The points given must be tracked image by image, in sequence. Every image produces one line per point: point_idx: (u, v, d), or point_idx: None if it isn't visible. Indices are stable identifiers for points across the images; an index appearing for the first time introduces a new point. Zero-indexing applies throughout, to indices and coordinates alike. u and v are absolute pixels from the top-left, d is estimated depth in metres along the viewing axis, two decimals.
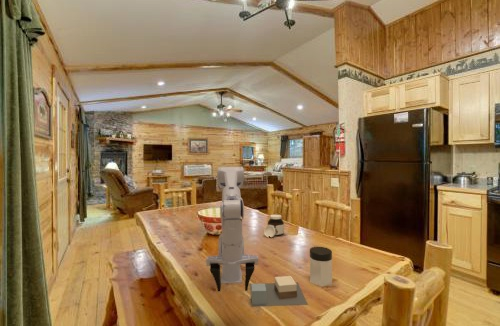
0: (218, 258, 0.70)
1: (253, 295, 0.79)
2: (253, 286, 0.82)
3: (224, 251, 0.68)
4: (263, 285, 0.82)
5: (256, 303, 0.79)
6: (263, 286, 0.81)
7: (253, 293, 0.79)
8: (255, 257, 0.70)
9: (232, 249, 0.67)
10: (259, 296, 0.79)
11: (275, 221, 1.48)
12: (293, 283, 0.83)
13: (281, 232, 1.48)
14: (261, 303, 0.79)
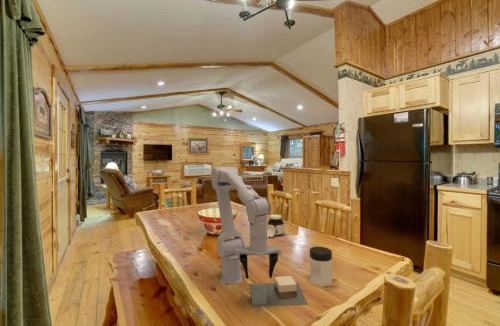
0: (246, 250, 0.81)
1: (253, 295, 0.79)
2: (253, 286, 0.82)
3: (252, 243, 0.79)
4: (263, 285, 0.82)
5: (256, 303, 0.79)
6: (263, 286, 0.81)
7: (253, 293, 0.79)
8: (278, 249, 0.81)
9: (259, 241, 0.78)
10: (259, 296, 0.79)
11: (275, 221, 1.48)
12: (293, 283, 0.83)
13: (281, 232, 1.48)
14: (261, 303, 0.79)
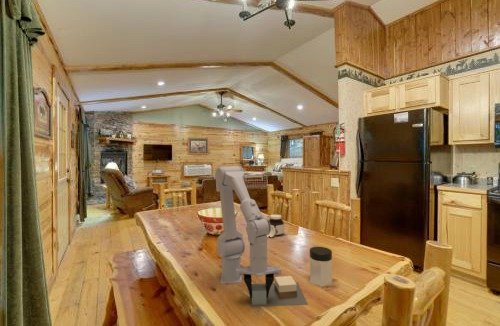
0: (246, 269, 0.81)
1: (253, 295, 0.79)
2: (253, 286, 0.82)
3: (252, 264, 0.79)
4: (263, 285, 0.82)
5: (256, 303, 0.79)
6: (263, 286, 0.81)
7: (253, 293, 0.79)
8: (278, 268, 0.81)
9: (259, 262, 0.78)
10: (259, 296, 0.79)
11: (275, 221, 1.48)
12: (293, 283, 0.83)
13: (281, 232, 1.48)
14: (261, 303, 0.79)
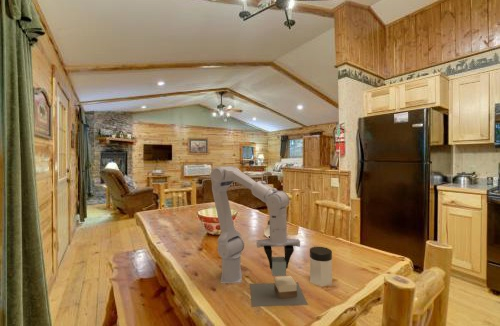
0: (266, 241, 0.84)
1: (273, 266, 0.82)
2: (273, 258, 0.84)
3: (272, 235, 0.82)
4: (282, 258, 0.85)
5: (276, 274, 0.82)
6: (282, 259, 0.84)
7: (273, 264, 0.82)
8: (297, 240, 0.84)
9: (279, 233, 0.81)
10: (279, 267, 0.82)
11: None
12: (293, 283, 0.83)
13: None
14: (281, 274, 0.82)
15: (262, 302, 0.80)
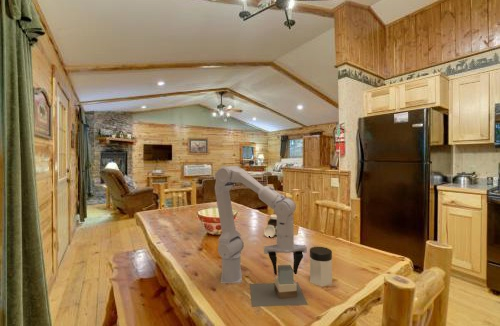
0: (273, 247, 0.85)
1: (281, 275, 0.83)
2: (280, 267, 0.86)
3: (279, 241, 0.83)
4: (289, 266, 0.86)
5: (284, 282, 0.83)
6: (289, 267, 0.86)
7: (281, 273, 0.83)
8: (304, 246, 0.85)
9: (287, 239, 0.82)
10: (286, 276, 0.83)
11: (275, 221, 1.48)
12: (293, 283, 0.83)
13: None
14: (288, 282, 0.83)
15: (262, 302, 0.80)
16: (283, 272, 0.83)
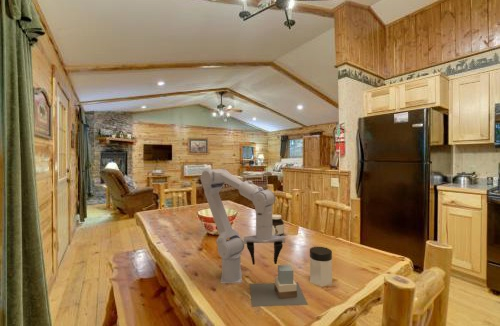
0: (253, 238, 0.87)
1: (281, 275, 0.83)
2: (280, 267, 0.86)
3: (258, 232, 0.85)
4: (289, 266, 0.86)
5: (284, 282, 0.83)
6: (289, 267, 0.86)
7: (281, 273, 0.83)
8: (282, 237, 0.87)
9: (265, 230, 0.84)
10: (286, 276, 0.83)
11: (275, 221, 1.48)
12: (293, 283, 0.83)
13: (281, 232, 1.48)
14: (288, 282, 0.83)
15: (262, 302, 0.80)
16: (283, 272, 0.83)
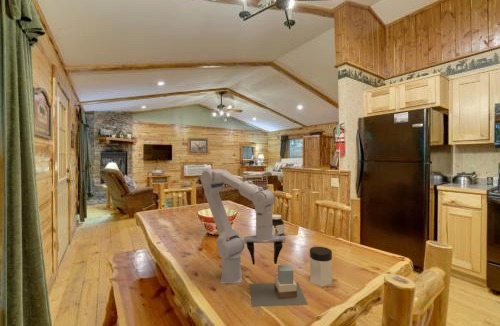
0: (253, 238, 0.87)
1: (281, 275, 0.83)
2: (280, 267, 0.86)
3: (258, 232, 0.85)
4: (289, 266, 0.86)
5: (284, 282, 0.83)
6: (289, 267, 0.86)
7: (281, 273, 0.83)
8: (282, 237, 0.87)
9: (265, 230, 0.84)
10: (286, 276, 0.83)
11: (275, 221, 1.48)
12: (293, 283, 0.83)
13: (281, 232, 1.48)
14: (288, 282, 0.83)
15: (262, 302, 0.80)
16: (283, 272, 0.83)
